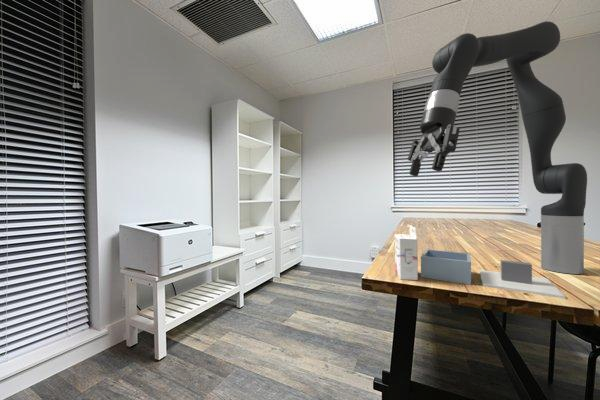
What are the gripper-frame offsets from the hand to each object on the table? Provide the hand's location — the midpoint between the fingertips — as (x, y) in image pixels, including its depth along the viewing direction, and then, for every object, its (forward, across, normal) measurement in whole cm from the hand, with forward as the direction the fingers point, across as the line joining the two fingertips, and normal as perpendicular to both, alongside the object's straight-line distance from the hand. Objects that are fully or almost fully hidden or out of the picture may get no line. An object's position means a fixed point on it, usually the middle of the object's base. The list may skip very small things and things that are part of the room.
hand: (424, 173), depth 61 cm
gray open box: (+23, +10, -22) cm, 34 cm away
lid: (+20, +1, -35) cm, 40 cm away
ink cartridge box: (+27, +12, -11) cm, 32 cm away
